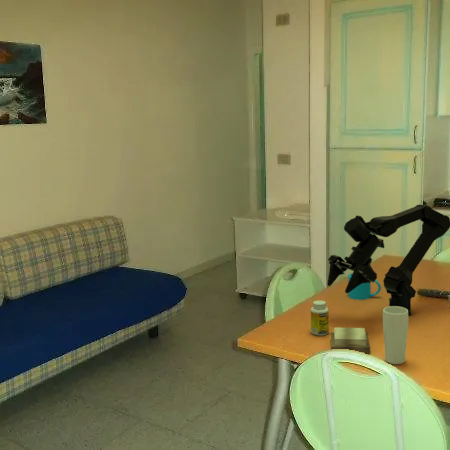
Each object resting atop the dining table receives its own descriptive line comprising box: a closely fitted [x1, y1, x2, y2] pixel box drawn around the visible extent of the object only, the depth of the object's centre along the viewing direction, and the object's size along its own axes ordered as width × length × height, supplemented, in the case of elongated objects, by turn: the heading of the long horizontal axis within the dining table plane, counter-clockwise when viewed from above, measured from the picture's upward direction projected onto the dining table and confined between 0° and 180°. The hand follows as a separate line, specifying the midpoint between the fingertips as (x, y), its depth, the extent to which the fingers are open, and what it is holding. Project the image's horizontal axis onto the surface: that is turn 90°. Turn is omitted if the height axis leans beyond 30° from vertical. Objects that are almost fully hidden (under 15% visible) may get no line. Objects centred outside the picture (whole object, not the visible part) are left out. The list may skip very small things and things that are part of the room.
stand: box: [330, 327, 371, 355], centre depth 175 cm, size 11×11×4 cm
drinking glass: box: [382, 305, 409, 365], centre depth 162 cm, size 7×7×15 cm
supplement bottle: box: [310, 300, 330, 337], centre depth 185 cm, size 6×6×10 cm
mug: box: [347, 272, 382, 301], centre depth 218 cm, size 12×8×8 cm
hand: (337, 289), depth 187 cm, fingers open, 9 cm apart
